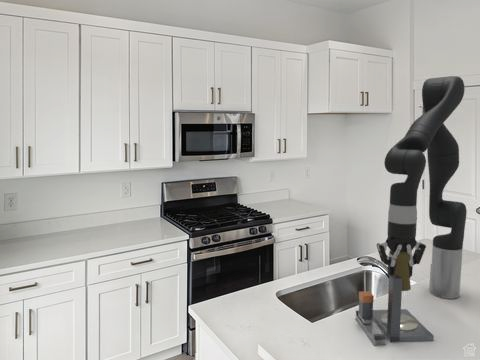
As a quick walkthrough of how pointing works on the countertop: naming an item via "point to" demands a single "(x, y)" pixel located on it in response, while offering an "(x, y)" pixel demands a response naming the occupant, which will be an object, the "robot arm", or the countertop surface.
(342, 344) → the countertop surface
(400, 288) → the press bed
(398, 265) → the cork
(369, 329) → the lever rail
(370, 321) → the lever
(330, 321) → the countertop surface
